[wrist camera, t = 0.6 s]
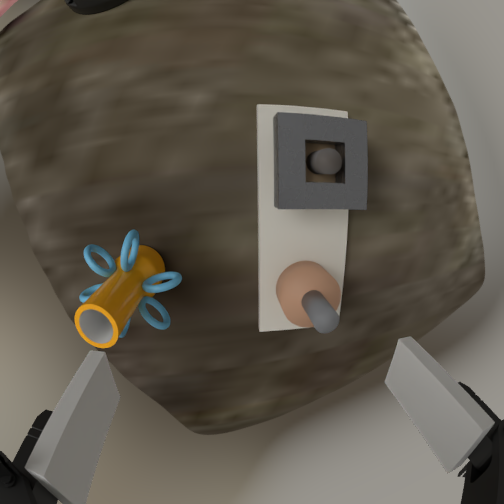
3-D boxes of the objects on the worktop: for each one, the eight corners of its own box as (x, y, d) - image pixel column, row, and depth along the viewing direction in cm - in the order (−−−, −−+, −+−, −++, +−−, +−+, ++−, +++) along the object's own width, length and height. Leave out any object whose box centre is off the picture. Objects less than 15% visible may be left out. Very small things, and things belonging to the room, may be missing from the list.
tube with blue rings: (88, 261, 32) (23, 310, 18) (135, 203, 31) (73, 225, 16) (153, 323, 35) (122, 400, 21) (205, 273, 34) (194, 341, 20)
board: (256, 106, 29) (257, 104, 28) (343, 113, 30) (347, 111, 29) (258, 327, 37) (259, 331, 35) (335, 320, 38) (338, 324, 36)
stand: (278, 136, 29) (294, 124, 22) (331, 139, 30) (360, 130, 23) (279, 191, 31) (295, 195, 24) (331, 192, 32) (360, 197, 24)
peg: (276, 261, 33) (294, 291, 24) (331, 259, 34) (363, 285, 25) (275, 314, 35) (290, 354, 26) (326, 309, 36) (353, 346, 27)
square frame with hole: (272, 117, 25) (277, 112, 23) (355, 124, 26) (366, 121, 23) (273, 206, 27) (278, 209, 25) (355, 206, 28) (366, 209, 26)
